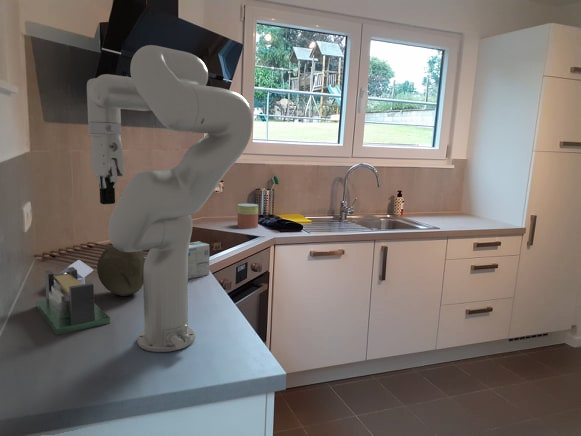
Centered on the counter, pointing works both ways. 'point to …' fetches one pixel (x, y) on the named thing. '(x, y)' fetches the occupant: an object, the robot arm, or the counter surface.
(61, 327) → the cooling block
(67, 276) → the retention strap
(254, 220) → the canned food
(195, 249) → the light bulb box
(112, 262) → the cantaloupe
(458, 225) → the counter surface
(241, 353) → the counter surface
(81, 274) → the wedge on round base
